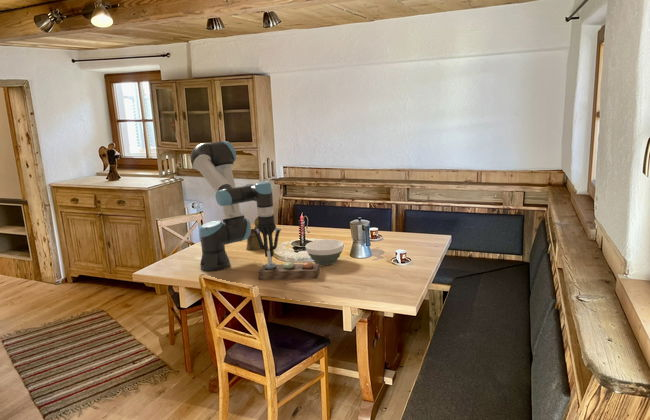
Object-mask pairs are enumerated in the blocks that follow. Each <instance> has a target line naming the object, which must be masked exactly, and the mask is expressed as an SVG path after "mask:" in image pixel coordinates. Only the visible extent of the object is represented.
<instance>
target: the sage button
mask: <svg viewBox="0 0 650 420" xmlns="http://www.w3.org/2000/svg"><path fill="white" fill-rule="evenodd" d="M283 264H284V268H286V269H293V267H294V264H295V263H294V262H292V261H290V262H285V263H283Z"/></svg>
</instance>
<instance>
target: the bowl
mask: <svg viewBox="0 0 650 420" xmlns="http://www.w3.org/2000/svg"><path fill="white" fill-rule="evenodd" d="M344 247H345V243H344V242H343V241H342V240H339V239H332V238H331V239H330V238H329V239H318V240H317V239H316V240H313V241H310V242H307V244H305V250H306V253H307V254H308V256H309V257H310V258H311V259H312V261H313V262H314V264H320V266H323V267H324V266H331V265H333V264H336V263H337V261H338V259H339V258H340V256H341V254H342V252H343V250H344Z"/></svg>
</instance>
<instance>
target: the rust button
mask: <svg viewBox="0 0 650 420" xmlns="http://www.w3.org/2000/svg"><path fill="white" fill-rule="evenodd" d="M302 264H303V268H305V269H311V267H313V264H314V263H313V262H311V261H306V262H302Z"/></svg>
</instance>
